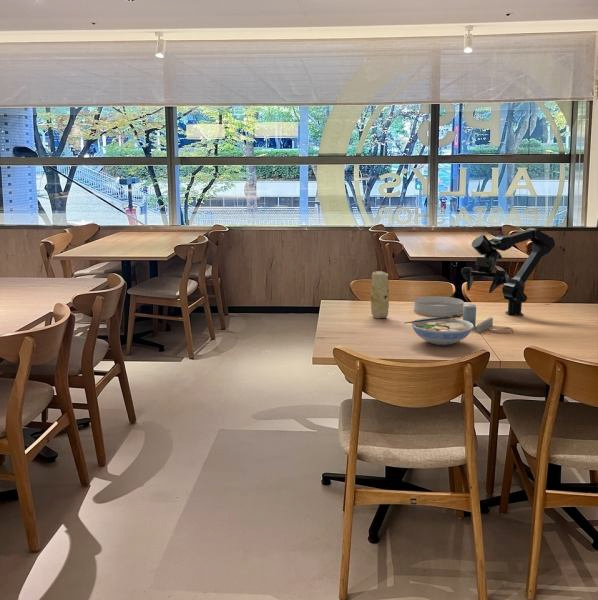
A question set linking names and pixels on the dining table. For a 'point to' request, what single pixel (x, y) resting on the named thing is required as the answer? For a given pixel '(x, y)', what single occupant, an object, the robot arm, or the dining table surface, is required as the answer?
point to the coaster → (500, 329)
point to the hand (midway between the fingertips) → (478, 291)
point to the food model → (379, 294)
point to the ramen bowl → (442, 329)
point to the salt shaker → (470, 313)
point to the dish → (438, 306)
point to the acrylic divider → (484, 325)
